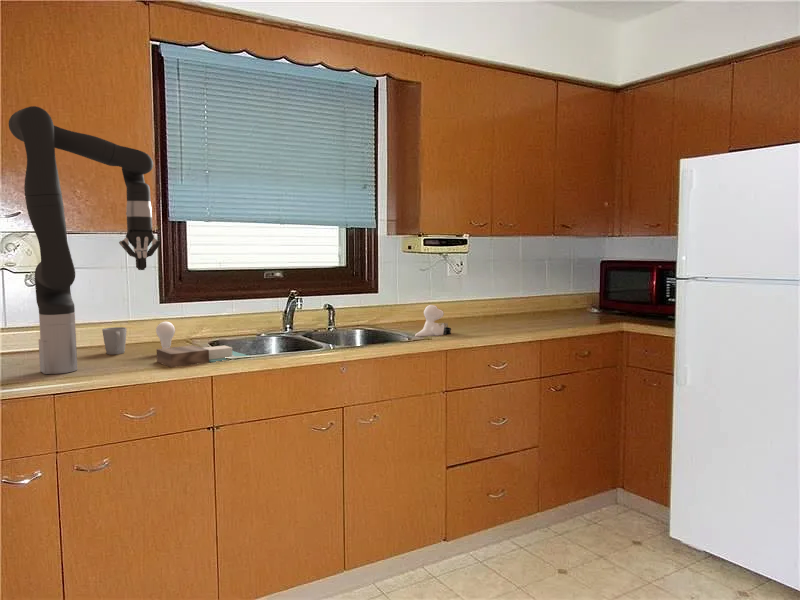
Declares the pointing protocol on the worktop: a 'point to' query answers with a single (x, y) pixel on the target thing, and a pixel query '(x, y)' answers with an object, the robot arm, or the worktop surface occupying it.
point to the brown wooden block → (182, 355)
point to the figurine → (431, 327)
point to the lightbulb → (165, 333)
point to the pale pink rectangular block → (219, 352)
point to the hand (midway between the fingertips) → (141, 269)
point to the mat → (225, 358)
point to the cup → (114, 340)
